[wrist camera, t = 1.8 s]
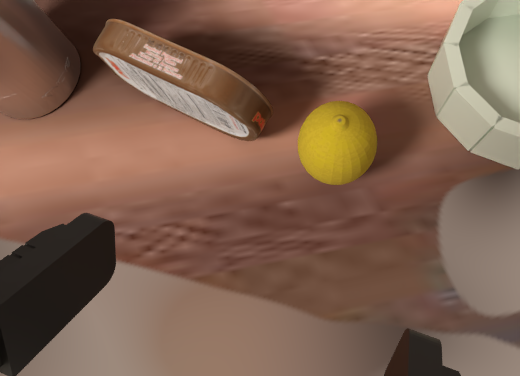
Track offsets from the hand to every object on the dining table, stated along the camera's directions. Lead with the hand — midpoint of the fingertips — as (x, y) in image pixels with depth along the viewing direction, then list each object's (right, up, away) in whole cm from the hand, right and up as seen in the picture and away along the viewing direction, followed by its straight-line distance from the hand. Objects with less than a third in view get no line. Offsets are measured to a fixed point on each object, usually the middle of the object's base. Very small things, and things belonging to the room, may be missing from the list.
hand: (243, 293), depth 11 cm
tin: (-5, +10, +26) cm, 28 cm away
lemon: (+6, +5, +23) cm, 24 cm away
